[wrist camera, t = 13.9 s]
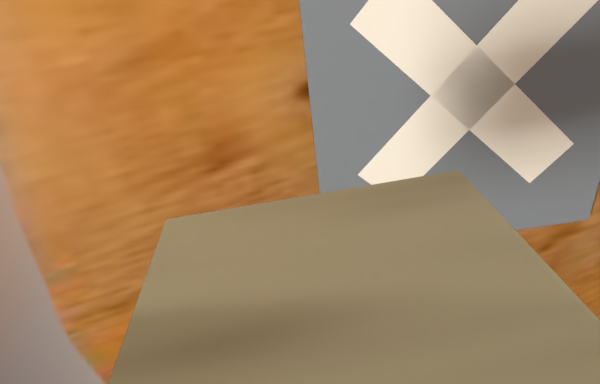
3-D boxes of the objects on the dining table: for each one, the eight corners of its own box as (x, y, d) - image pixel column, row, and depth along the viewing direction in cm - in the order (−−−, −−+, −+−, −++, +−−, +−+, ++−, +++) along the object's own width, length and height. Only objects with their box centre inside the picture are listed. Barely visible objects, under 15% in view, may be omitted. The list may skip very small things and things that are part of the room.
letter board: (583, 215, 22) (589, 220, 22) (325, 253, 22) (327, 258, 22) (687, -169, 14) (698, -173, 14) (286, -116, 14) (287, -118, 14)
